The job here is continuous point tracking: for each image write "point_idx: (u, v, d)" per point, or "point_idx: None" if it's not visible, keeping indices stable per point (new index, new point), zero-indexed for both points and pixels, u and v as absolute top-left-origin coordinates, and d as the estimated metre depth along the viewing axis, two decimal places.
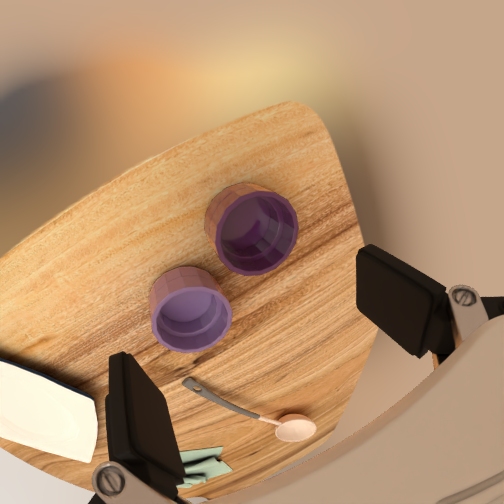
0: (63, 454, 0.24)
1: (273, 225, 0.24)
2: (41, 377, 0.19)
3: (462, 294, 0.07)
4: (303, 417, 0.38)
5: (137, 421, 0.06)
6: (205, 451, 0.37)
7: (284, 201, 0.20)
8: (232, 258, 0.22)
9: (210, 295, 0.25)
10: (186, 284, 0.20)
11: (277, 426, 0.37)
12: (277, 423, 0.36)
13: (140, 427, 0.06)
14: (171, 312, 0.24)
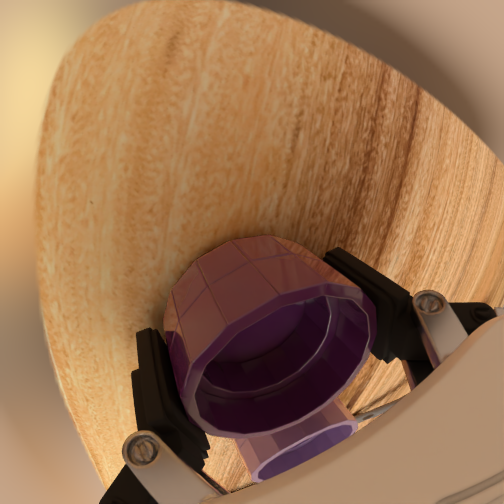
0: None
1: None
2: None
3: (427, 300, 0.07)
4: None
5: (168, 389, 0.07)
6: None
7: (274, 306, 0.06)
8: (288, 383, 0.10)
9: None
10: (260, 456, 0.10)
11: None
12: None
13: (171, 396, 0.07)
14: None
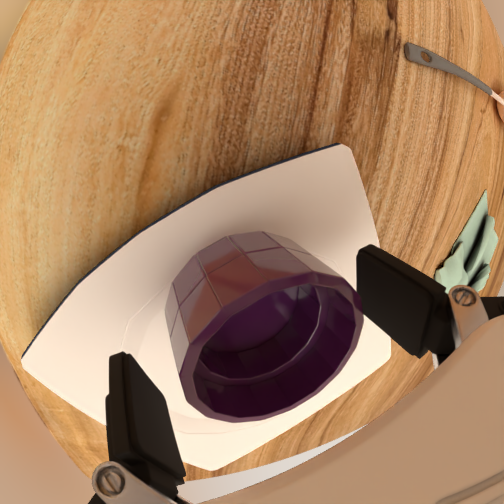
0: (348, 385, 0.20)
1: None
2: (213, 196, 0.10)
3: (462, 294, 0.07)
4: None
5: (137, 421, 0.06)
6: (478, 211, 0.23)
7: (263, 291, 0.07)
8: (281, 371, 0.11)
9: None
10: None
11: None
12: None
13: (140, 427, 0.06)
14: None
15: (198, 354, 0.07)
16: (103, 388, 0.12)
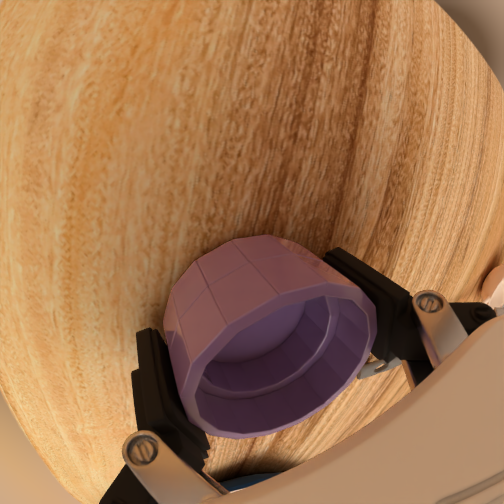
0: None
1: None
2: None
3: (427, 300, 0.07)
4: None
5: (168, 389, 0.07)
6: None
7: None
8: None
9: None
10: (191, 347, 0.06)
11: (486, 303, 0.21)
12: (486, 302, 0.20)
13: (171, 396, 0.07)
14: (251, 349, 0.11)
15: None
16: None
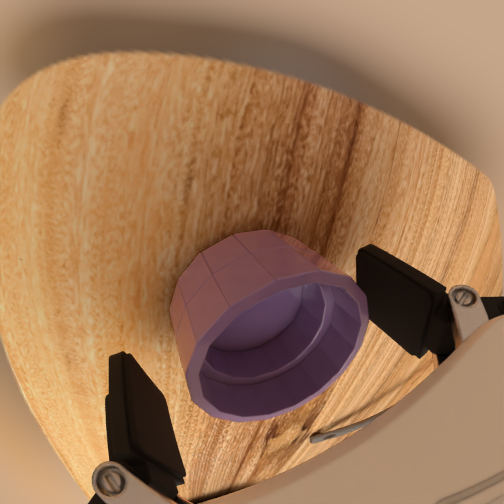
0: None
1: None
2: None
3: (462, 294, 0.07)
4: None
5: (137, 421, 0.06)
6: None
7: None
8: None
9: None
10: (196, 328, 0.07)
11: None
12: None
13: (140, 427, 0.06)
14: (251, 338, 0.12)
15: None
16: None
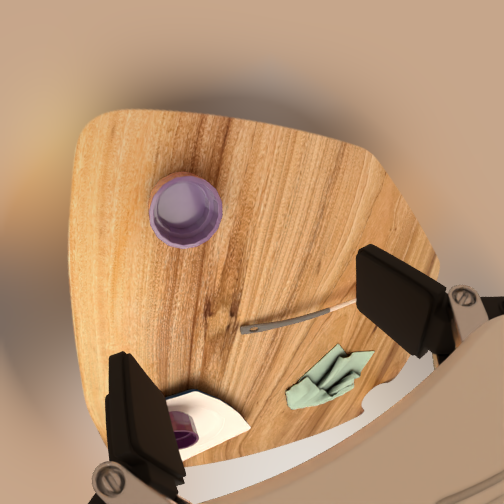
0: (231, 435, 0.44)
1: None
2: None
3: (462, 294, 0.07)
4: None
5: (137, 421, 0.06)
6: (327, 357, 0.47)
7: None
8: (184, 438, 0.35)
9: (194, 184, 0.26)
10: (153, 194, 0.22)
11: None
12: (355, 300, 0.40)
13: (140, 427, 0.06)
14: (183, 221, 0.27)
15: None
16: None
